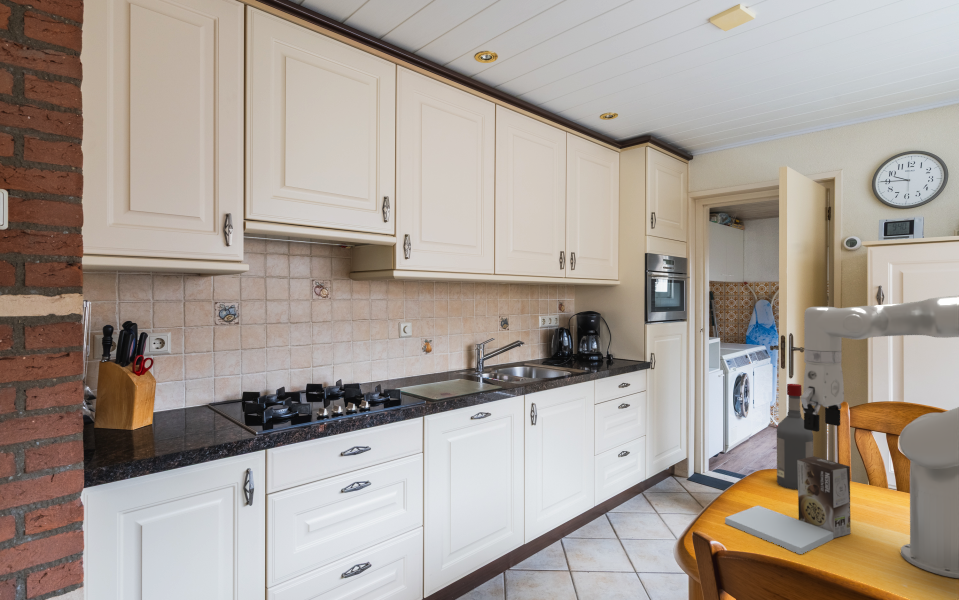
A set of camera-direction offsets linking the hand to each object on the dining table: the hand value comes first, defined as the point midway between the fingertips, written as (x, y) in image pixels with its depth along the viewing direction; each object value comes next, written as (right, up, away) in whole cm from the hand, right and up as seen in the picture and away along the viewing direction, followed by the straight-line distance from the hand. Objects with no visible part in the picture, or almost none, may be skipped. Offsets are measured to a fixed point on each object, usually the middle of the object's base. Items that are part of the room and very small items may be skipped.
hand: (822, 427), depth 124 cm
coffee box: (0, -25, 0) cm, 25 cm away
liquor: (+11, -24, +28) cm, 39 cm away
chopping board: (-12, -25, -1) cm, 27 cm away
